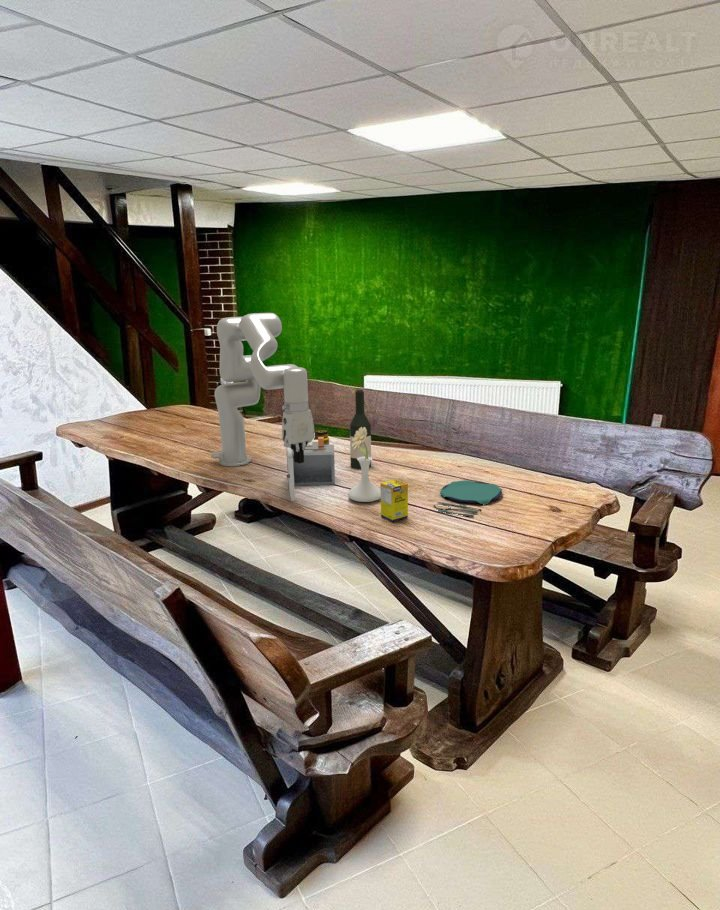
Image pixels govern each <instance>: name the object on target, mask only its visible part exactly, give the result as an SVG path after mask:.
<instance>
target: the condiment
mask: <svg viewBox="0 0 720 910" xmlns="http://www.w3.org/2000/svg"><path fill="white" fill-rule="evenodd" d="M318 437H324V445H330V438H329V431H328V430H326V429H318V430H314V439H313V440H318Z"/></svg>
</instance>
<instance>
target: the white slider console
mask: <svg viewBox="0 0 720 910" xmlns="http://www.w3.org/2000/svg"><path fill="white" fill-rule="evenodd" d="M291 452H292V456H293V469H294V487H295V486H296V487H297V486H299V487H300V486H303V487H304V486H335V485H336V484H335V483H336V469H335V465H336V464H335V444H329V445H324V446H318V449H312V444H307V446H306V447H305V450H304V463H296V462H294V453H293V450H292V449H291Z"/></svg>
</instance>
